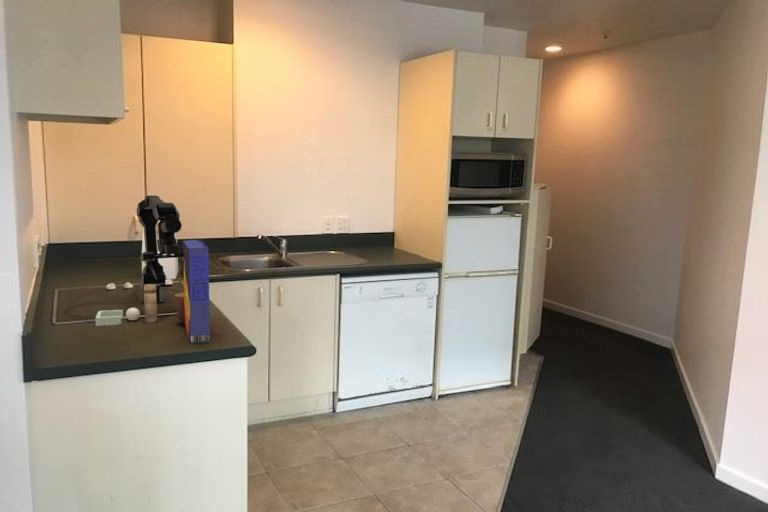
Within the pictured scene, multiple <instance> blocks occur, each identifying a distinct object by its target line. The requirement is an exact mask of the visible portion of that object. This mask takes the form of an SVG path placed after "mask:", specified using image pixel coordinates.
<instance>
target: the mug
mask: <svg viewBox="0 0 768 512" xmlns="http://www.w3.org/2000/svg"><path fill="white" fill-rule="evenodd" d="M174 298H175V301H176V305H177V307H176V308H177V310H176V318H177V323H178V324H180V325H182V326H185V317H184V292H180V293H176V294H174Z"/></svg>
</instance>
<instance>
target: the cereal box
mask: <svg viewBox="0 0 768 512" xmlns="http://www.w3.org/2000/svg"><path fill="white" fill-rule="evenodd" d="M182 241H183V250H182V251H183V260H184V278H183V293H184V317H185V325H184V329H185V332H186V335H187V338H188V341H189V342H188V343H189V344H196V343H197V344H198V343H209V342H210V341H211V339H210V337H211V336H210V332H211V331H210V267H209V266H210V262H209V261H210V260H209V256H210V255H209V254H210V253H209V250H210V249H209V247H208V246H207V245H206V244H205V243H204V241H202V240H198V239H191V240H190V239H188V240H182Z"/></svg>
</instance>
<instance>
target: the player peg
mask: <svg viewBox="0 0 768 512" xmlns="http://www.w3.org/2000/svg"><path fill="white" fill-rule="evenodd" d="M156 292H157V290H156V284H145V285H144V289H143V293H144V299H143V300H144V301H145V302H144V322H145V323H155V321H156V322H158V307H157V304H158V303H157V297H156Z"/></svg>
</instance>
